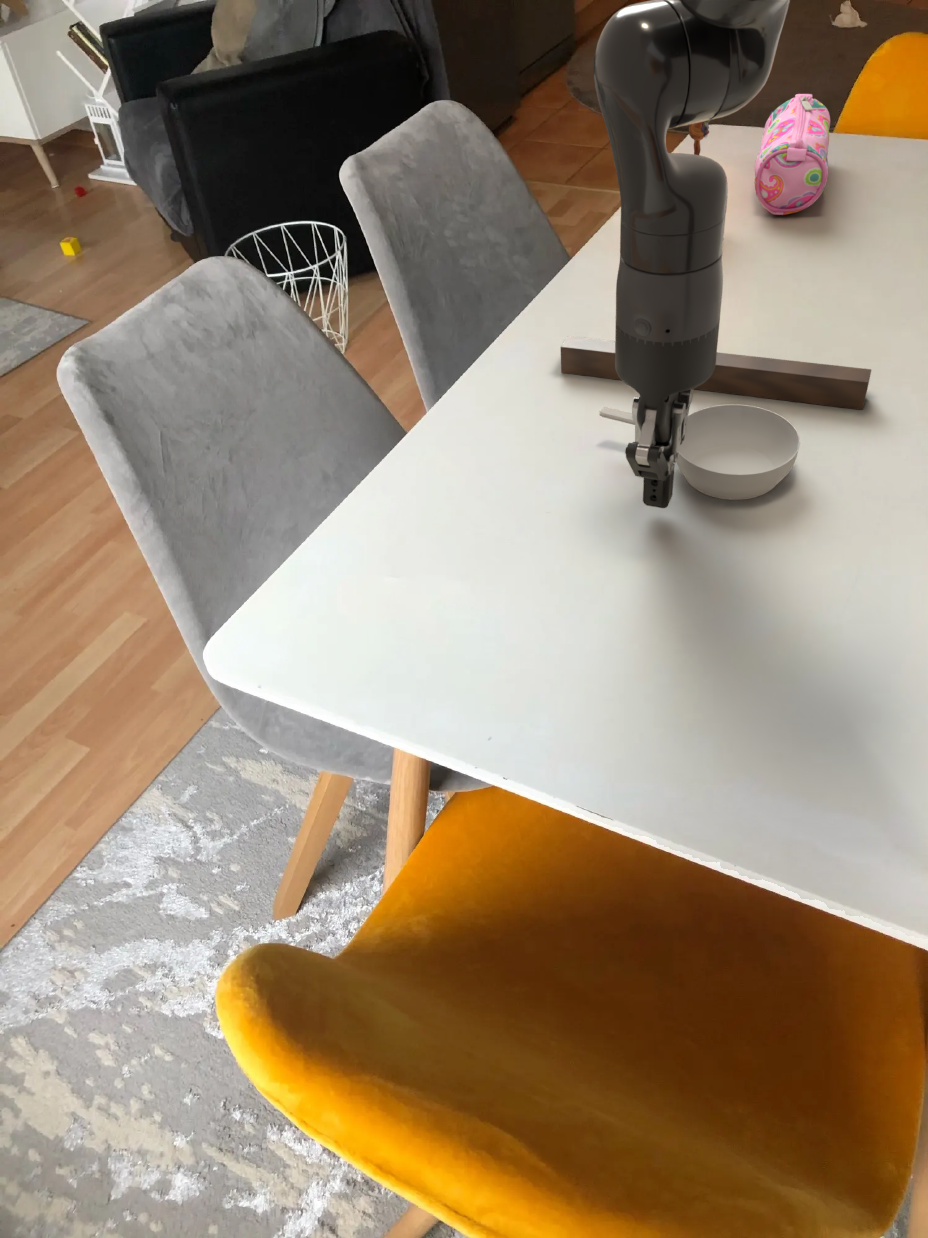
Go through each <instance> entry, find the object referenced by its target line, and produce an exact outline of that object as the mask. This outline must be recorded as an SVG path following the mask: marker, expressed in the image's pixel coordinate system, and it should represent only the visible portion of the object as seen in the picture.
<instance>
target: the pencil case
mask: <svg viewBox="0 0 928 1238" xmlns="http://www.w3.org/2000/svg"><path fill="white" fill-rule="evenodd" d="M830 126H831V116H830V112H829V110H828V108H827V107H826V106H825V105H824V104H823V103H822V102H821V101H819V100H818V99H816V98H813V94H812V93H797V94H795V95H794V97H792V98H790V99H788V100H786V101H784V102H783V103H782V104H780V105H779V106H778V107H776V108H775V109H774V110H771V112H770V114H769V116H768V117H767V120H766V122H765V124H764V128H763V132H762V137H761V138H762V139H761V141H760V147H759V152H758V154H757V157H756V159H755V162H754V190H755V196H756V198H757V200H758V201H759V203H760V205H761V206H762V207H763V208H764V209H765V210H766V211H768V212H769V213H770V214H772V215H775V216H776V215H777V216H780V215H781V216H785V215H790V214H795V213H798V212H802V211H803V210H806V209H807V208H809V207H810V206H812V205H813V204H814V203H815V202H816V201H817V200H818V199H819V198H820V197H821V195H822V194H823V192H824V190H825V188H826V186H827V181H828V177H829V176H828V174H829V160H828V154H829V144H830Z"/></svg>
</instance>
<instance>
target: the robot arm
mask: <svg viewBox="0 0 928 1238" xmlns="http://www.w3.org/2000/svg"><path fill="white" fill-rule="evenodd" d="M790 2H791V0H647V1H642V2H636V3H633V4H629V5H626V6H625V7H621V9H618V11H616V12H615V13H613V15H612V16H611V17H610V18H609V20H608V21H607V22H606V23H605V25H604V28H603V29H602V31H601V33H600V36H599V38H598V40H597V44H596V48H595V53H594V57H593V81H594V87H595V91H596V96H597V101H598V105H599V109H600V111H601V115H602V119H603V122H604V125H605V130H606V131H607V132H606V133H607V136H608V137H607V138H608V142H609V144H610V148H611V153H612V159H613V163H614V169H615V175H616V178H617V185H618V190H619V191H618V192H619V197H620V225H619V226H620V229H619V231H620V232H619V233H620V236H619V262H618V263H619V264H618V270H617V276H616V285H615V333H614V334H615V335H614V336H615V337H614V338H615V339H614V341H615V369H616V372H617V374H618V376H619V377H620V379H621V380H620V381H622V382H623V383H624V384H626V385H627V386H629V387H631V388H632V389H633V390H634V391H636V392H637V394H638V395H639V396H634V397H633V401H632V404H631V413H632V419H633V420H634V421H635V425H634V441H632V442H628V443H627V445H626V447H625V450H624V454H625V459H626V461H627V463H628V464H629V467H630V468H631V471H632V472H633V474H634V476H635V477H637V478H643V485H642V486H643V487H642V502H643V504H644V505H645V506H648V507H652V508H659V509H667V508H668V506H669V504H670V502H671V500H672V497H673V495H674V493H673V492H674V478H675V465H676V464H677V463H676V461H677V459H678V458H679V453H678V452H679V445H681V444H682V442H683V441H684V438H685V435H684V434H685V432H686V430H687V420H688V415H689V411H690V408H691V407H690V406H691V403H692V402H693V398H694V389H693V388H695V387H698V386H700V385H701V384H703V383H704V382H706V381H707V380H708V379H709V378H710V377H711V375H712V374H713V372H714V369H715V365H716V355H717V352H718V344H719V332H720V324H721V323H720V321H721V311H722V302H723V292H724V291H723V288H724V272H723V271H724V270H723V269H724V268H723V247H724V238H725V237H724V236H725V225H726V213H727V207H728V206H727V205H728V193H729V191H728V190H729V189H728V178H727V174H726V171H725V169H724V168H723V166H722V165H721V164H720V163H719V162H718V161H716V160H714V159H712V158H710V157H708V156H705V155H700V154H699V155H694V153H682V152H669V151H668V148H667V133H668V130H672V129H676V128H680V127H684V126H685V127H686V126H689V124H694V123H698V122H703V121H707V120H710V121H712V120H715V119H720V118H724V117H727V116H730V115H732V114H735V113H736V112H738V111H740V110H741V109H742V108H744V107H746V105H748V104H749V103H751V102H752V100H753V99H754V98H755V97H756V96H757V95H758V94H759V93H760V92H761V91H762V89H763V88H764V86H765V85H766V83H767V81H768V79H769V77H770V75H771V72H772V69H773V66H774V62H775V58H776V53H777V49H778V45H779V41H780V38H781V34H782V31H783V29H784V28H783V27H784V24H785V22H786V17H787V14H788V10H789V7H790Z"/></svg>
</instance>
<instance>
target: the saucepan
mask: <svg viewBox="0 0 928 1238" xmlns="http://www.w3.org/2000/svg"><path fill="white" fill-rule="evenodd" d="M599 416H600V417H602V418H605V419H608V420H612V421H617V422H621V423H625V424H628V425H633V426H635V421H634V420H633V419H632V412H630V411H625V410H620V409H616V408H612V407H608V406H603V407H602V408H600V410H599ZM684 435H685V438H684V441H683V442H682V444H681V445H679V452H678V453H679V458H678V459H677V461H676V463H675V464H676V465H677V467H678V469H679V471H680V472H681V474H682V475H683V477H684V478H685V480H686V482H687V483H688V484H689V486H691V487H693V488H694V489H695V490H696V491H698V492H700V493H702V494H704V495H706V496H709V497H713V498H716V499H720V500H729V501H739V500H749V499H754V498H757V497H761V496H762V495H764V494H768V492H771V491H772V490H773V489H774V488H775V487H776V486H778V484H779V483H780V482H781V481H782V480H783V479H784V478H785V477H787V476H788V474H789V473H790V472H791V470H792V468H793V467H794V465H795V463H796V460H797V457H798V453H799V449H800V446H801V437H800V434H799V431H798V430H797V429H796V427H795V426H794V424H792V423H791V422H790V421H789V420H788V419H787V418H785V417H784V416H782V415H780V414H778V413H776V412H775V411H773V410H769V409H766V408H763V407H758V406H756V405H749V404H748V405H747V404H736V403H735V404H734V403H733V404H717V405H712V406H707V407H704V408H701V409H698V410H696V411H693V412H691V413H690V414H688V420H687V430H686V432H685V434H684Z"/></svg>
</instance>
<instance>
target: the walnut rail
mask: <svg viewBox="0 0 928 1238" xmlns="http://www.w3.org/2000/svg"><path fill="white" fill-rule="evenodd" d="M560 373H564V374H570V375H579V376H585V377H587V376H588V377H595V378H603V379H612V380H618V381H622V380H621V379H620V377H619V376H618V374H617V372H616V369H615V340H609V339H600V338H590V337H584V336H583V337H582V336H572V335H567V336H566V338H564V341H563V342H562V344H561V345H560ZM871 374H872V369H870V368H863V367H853V366H845V365H844V366H843V365H835V364H827V363H817V362H808V361H799V360H789V359H781V358H772V357H763V356H753V355H745V354H737V353H736V354H735V353H727V352H718V351H717V355H716V365H715V369H714V372H713V374H712V375H711V377H710V378H709V379H708V380H707V381H706V382H704V383H703V384H701V385H700V386H698V387H695V388H693V390H698V391H707V392H716V393H723V394H731V395H739V396H748V397H755V398H762V399H763V398H764V399H772V400H779V401H787V402H795V403H803V404H812V405H819V406H827V407H835V408H844V409H851V410H861V411H863V410H864V406H865V401H866V397H867V394H868V388H869V385H870V384H869V383H870V379H871Z"/></svg>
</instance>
